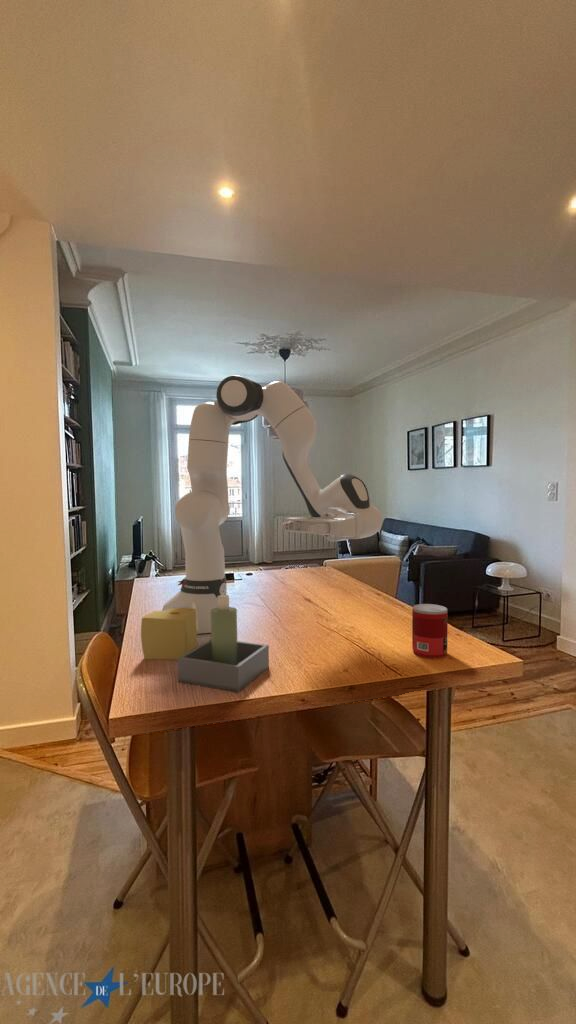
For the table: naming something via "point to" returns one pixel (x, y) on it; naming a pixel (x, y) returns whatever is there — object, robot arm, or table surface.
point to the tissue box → (168, 633)
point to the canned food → (429, 630)
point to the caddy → (223, 667)
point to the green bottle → (224, 632)
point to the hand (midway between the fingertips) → (296, 527)
